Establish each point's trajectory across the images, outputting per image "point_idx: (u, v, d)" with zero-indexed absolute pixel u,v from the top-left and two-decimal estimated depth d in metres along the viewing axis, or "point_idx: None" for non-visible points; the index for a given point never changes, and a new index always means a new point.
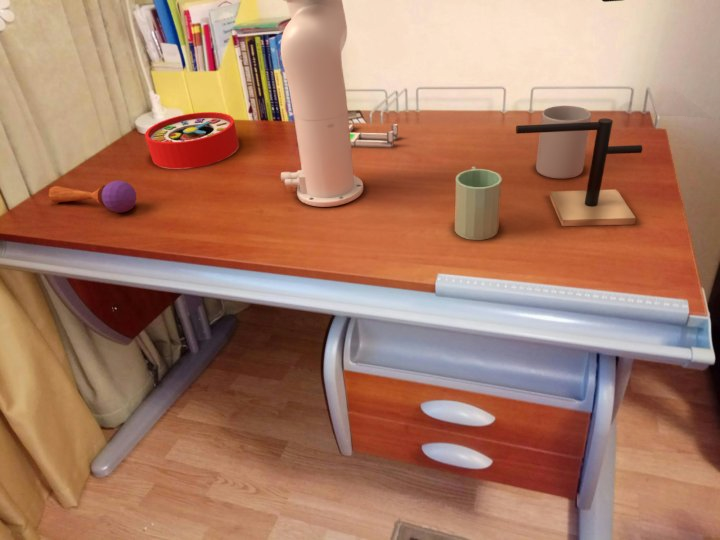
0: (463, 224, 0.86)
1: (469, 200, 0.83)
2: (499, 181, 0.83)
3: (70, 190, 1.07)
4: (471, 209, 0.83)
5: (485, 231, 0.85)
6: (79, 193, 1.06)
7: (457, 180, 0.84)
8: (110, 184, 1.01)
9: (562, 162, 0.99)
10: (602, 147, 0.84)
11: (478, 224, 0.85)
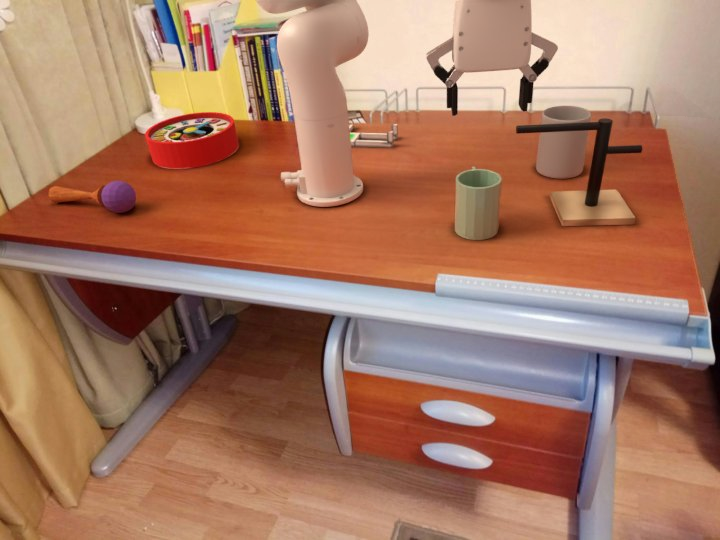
0: (463, 224, 0.86)
1: (469, 200, 0.83)
2: (499, 181, 0.83)
3: (70, 190, 1.07)
4: (471, 209, 0.83)
5: (485, 231, 0.85)
6: (79, 193, 1.06)
7: (457, 180, 0.84)
8: (110, 184, 1.01)
9: (562, 162, 0.99)
10: (602, 147, 0.84)
11: (478, 224, 0.85)
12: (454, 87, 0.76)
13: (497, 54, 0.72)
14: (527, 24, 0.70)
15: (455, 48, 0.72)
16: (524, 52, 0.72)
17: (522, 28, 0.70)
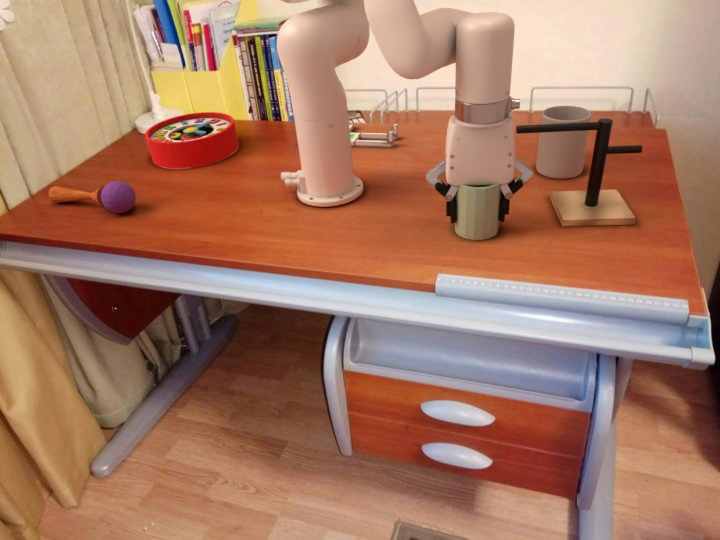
0: (463, 224, 0.86)
1: (469, 200, 0.83)
2: None
3: (69, 190, 1.07)
4: (471, 209, 0.83)
5: (485, 231, 0.85)
6: (78, 193, 1.06)
7: None
8: (109, 184, 1.01)
9: (562, 162, 0.99)
10: (602, 147, 0.84)
11: (478, 224, 0.85)
12: (453, 201, 0.85)
13: (484, 173, 0.81)
14: (510, 150, 0.79)
15: (447, 167, 0.81)
16: (508, 172, 0.81)
17: (506, 153, 0.79)
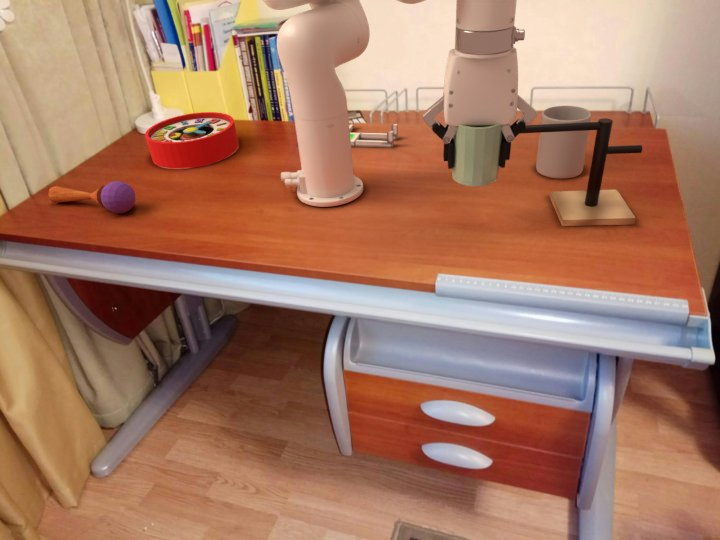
0: (461, 169, 0.81)
1: (468, 142, 0.78)
2: None
3: (69, 190, 1.07)
4: (470, 152, 0.79)
5: (484, 177, 0.81)
6: (78, 193, 1.06)
7: None
8: (109, 185, 1.01)
9: (562, 162, 0.99)
10: (602, 147, 0.84)
11: (477, 168, 0.80)
12: (451, 143, 0.80)
13: (485, 112, 0.76)
14: (513, 86, 0.74)
15: (445, 105, 0.76)
16: (510, 111, 0.76)
17: (509, 90, 0.74)
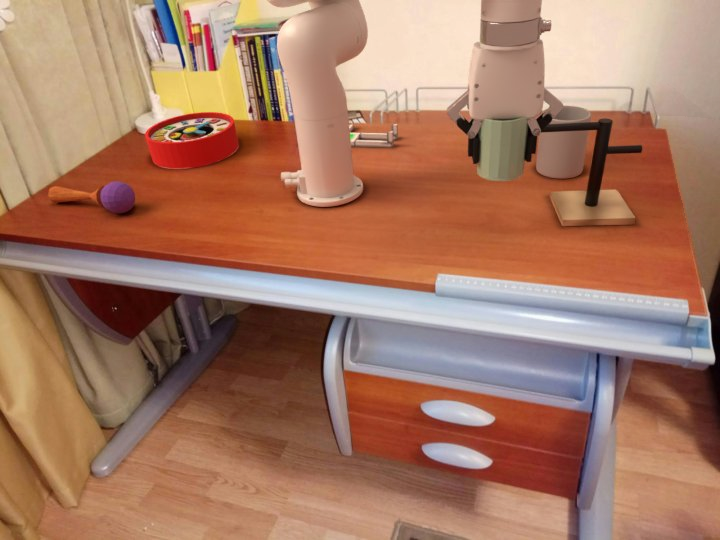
0: (487, 164, 0.80)
1: (494, 135, 0.77)
2: None
3: (69, 190, 1.07)
4: (496, 146, 0.77)
5: (510, 171, 0.79)
6: (78, 193, 1.06)
7: None
8: (109, 185, 1.01)
9: (562, 162, 0.99)
10: (602, 147, 0.84)
11: (503, 162, 0.79)
12: (476, 138, 0.79)
13: (511, 105, 0.75)
14: (540, 78, 0.73)
15: (470, 98, 0.76)
16: (537, 103, 0.75)
17: (535, 82, 0.73)
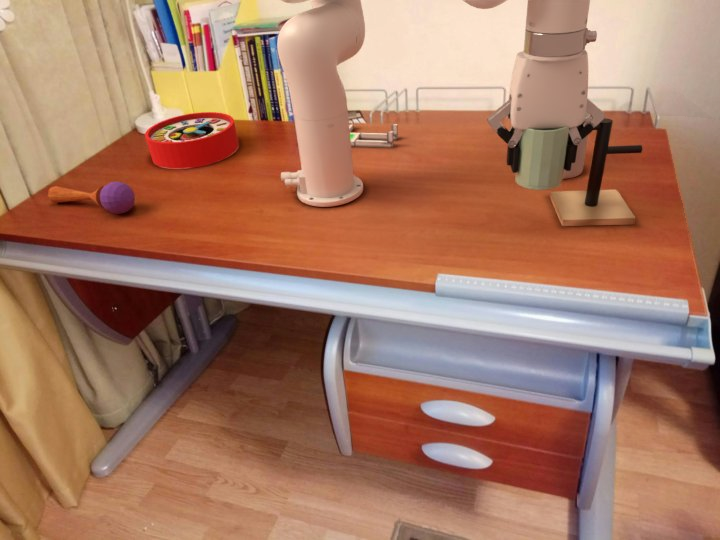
0: (527, 173, 0.80)
1: (536, 145, 0.77)
2: None
3: (69, 190, 1.07)
4: (537, 155, 0.78)
5: (551, 180, 0.80)
6: (78, 193, 1.06)
7: None
8: (108, 185, 1.01)
9: None
10: (602, 147, 0.84)
11: (544, 171, 0.79)
12: (516, 147, 0.79)
13: (553, 115, 0.75)
14: (584, 88, 0.73)
15: (513, 108, 0.76)
16: (579, 113, 0.75)
17: (579, 92, 0.73)
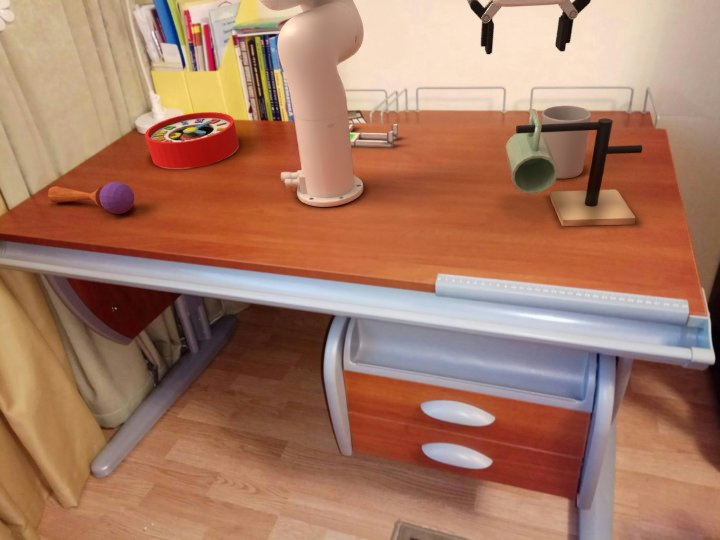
0: None
1: None
2: (553, 181, 0.86)
3: (69, 190, 1.07)
4: None
5: None
6: (78, 193, 1.06)
7: (513, 178, 0.87)
8: (108, 185, 1.01)
9: (562, 162, 0.99)
10: (602, 147, 0.84)
11: None
12: (490, 23, 0.73)
13: None
14: None
15: None
16: None
17: None
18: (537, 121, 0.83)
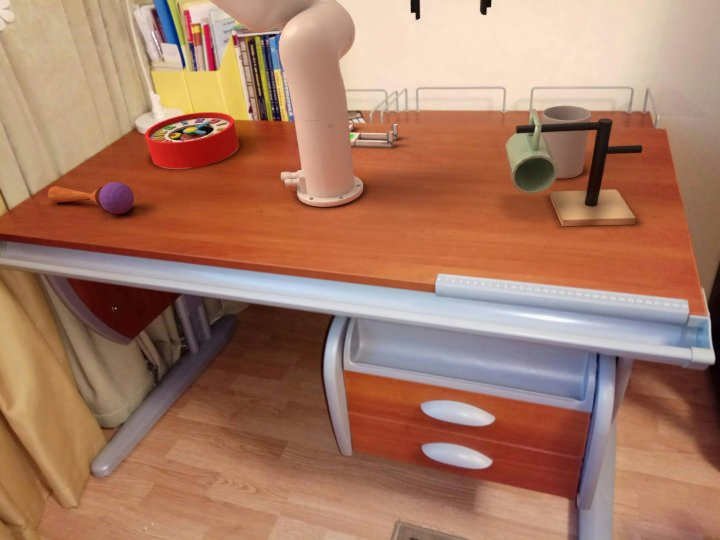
0: None
1: None
2: (553, 180, 0.86)
3: (69, 190, 1.07)
4: None
5: None
6: (77, 194, 1.06)
7: (513, 178, 0.87)
8: (107, 185, 1.01)
9: (562, 162, 0.99)
10: (602, 147, 0.84)
11: None
12: None
13: None
14: None
15: None
16: None
17: None
18: (537, 121, 0.83)
